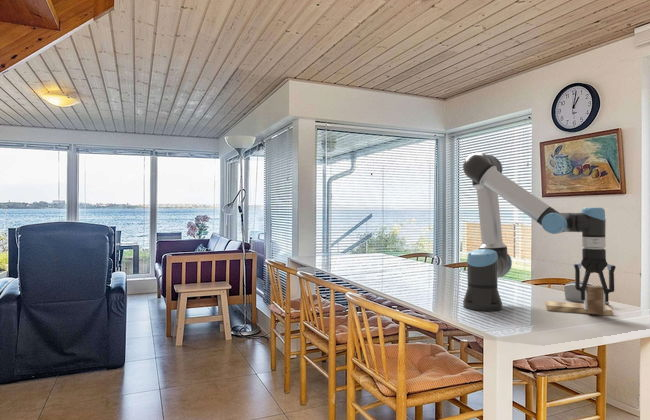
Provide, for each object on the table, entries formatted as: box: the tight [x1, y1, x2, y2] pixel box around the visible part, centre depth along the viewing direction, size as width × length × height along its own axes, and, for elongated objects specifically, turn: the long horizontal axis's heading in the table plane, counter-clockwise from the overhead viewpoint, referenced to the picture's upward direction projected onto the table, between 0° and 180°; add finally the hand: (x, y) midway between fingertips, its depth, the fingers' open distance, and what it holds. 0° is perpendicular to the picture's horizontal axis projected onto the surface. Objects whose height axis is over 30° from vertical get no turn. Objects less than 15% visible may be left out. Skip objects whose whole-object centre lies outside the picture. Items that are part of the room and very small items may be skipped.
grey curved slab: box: [563, 281, 610, 306], centre depth 185 cm, size 17×5×10 cm, turn 27°
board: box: [544, 300, 613, 316], centre depth 170 cm, size 22×9×2 cm, turn 67°
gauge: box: [586, 285, 603, 316], centre depth 167 cm, size 5×15×10 cm, turn 157°
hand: (594, 309), depth 162 cm, fingers closed on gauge, 5 cm apart
